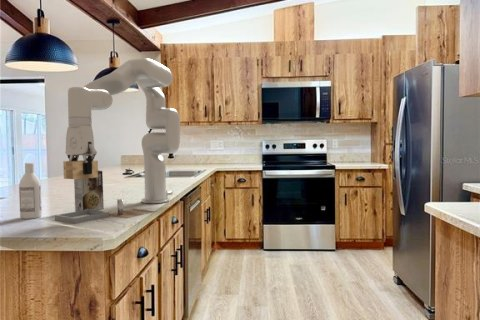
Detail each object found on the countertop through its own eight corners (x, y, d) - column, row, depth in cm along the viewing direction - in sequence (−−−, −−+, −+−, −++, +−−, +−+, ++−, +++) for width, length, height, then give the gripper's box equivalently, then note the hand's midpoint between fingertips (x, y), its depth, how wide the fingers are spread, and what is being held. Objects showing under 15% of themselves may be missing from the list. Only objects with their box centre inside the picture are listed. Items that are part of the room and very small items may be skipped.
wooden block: (75, 179, 130) (75, 161, 129) (63, 178, 133) (63, 161, 133) (98, 177, 137) (97, 160, 137) (86, 176, 141) (86, 160, 141)
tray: (88, 214, 145) (88, 209, 145) (109, 217, 139) (108, 212, 139) (54, 221, 133) (54, 215, 133) (75, 225, 127) (75, 218, 127)
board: (134, 210, 154) (134, 208, 154) (156, 212, 148) (156, 211, 148) (103, 216, 141) (103, 214, 141) (126, 219, 135) (126, 218, 135)
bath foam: (33, 214, 145) (31, 162, 144) (45, 216, 142) (44, 162, 141) (15, 218, 139) (13, 163, 138) (28, 219, 136) (27, 163, 135)
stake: (120, 215, 143) (120, 199, 143) (124, 216, 142) (124, 199, 142) (116, 216, 142) (116, 199, 141) (120, 216, 141) (119, 200, 140)
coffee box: (95, 208, 158) (94, 169, 157) (104, 210, 154) (103, 170, 153) (74, 211, 151) (73, 171, 150) (82, 213, 147) (81, 171, 146)
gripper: (55, 123, 136) (56, 173, 136) (86, 121, 127) (87, 175, 127) (74, 124, 142) (75, 172, 143) (105, 122, 133) (106, 174, 134)
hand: (81, 173), depth 135 cm, fingers closed on wooden block, 6 cm apart
